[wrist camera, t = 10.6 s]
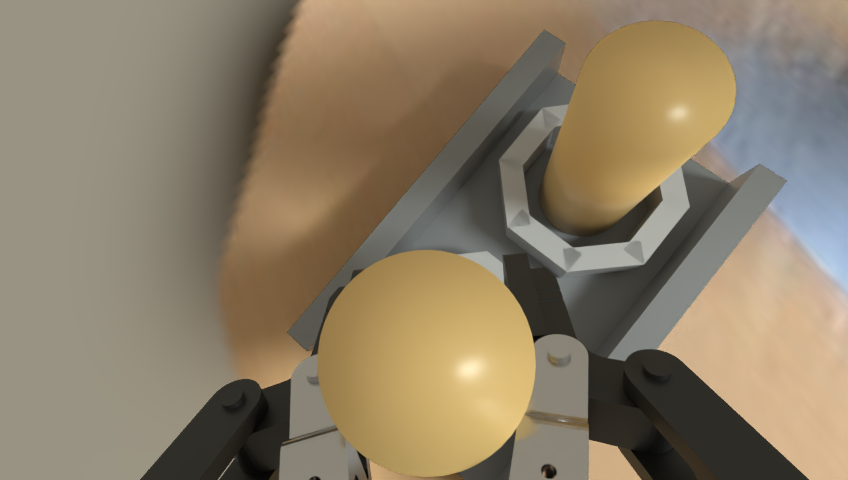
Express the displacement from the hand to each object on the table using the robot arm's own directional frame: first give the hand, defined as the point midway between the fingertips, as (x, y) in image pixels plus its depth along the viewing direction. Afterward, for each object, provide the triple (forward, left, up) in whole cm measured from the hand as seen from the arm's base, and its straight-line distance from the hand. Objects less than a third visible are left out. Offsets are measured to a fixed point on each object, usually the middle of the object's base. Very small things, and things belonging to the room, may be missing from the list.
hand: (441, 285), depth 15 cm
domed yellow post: (+1, +1, -4) cm, 5 cm away
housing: (-3, +1, -9) cm, 10 cm away
